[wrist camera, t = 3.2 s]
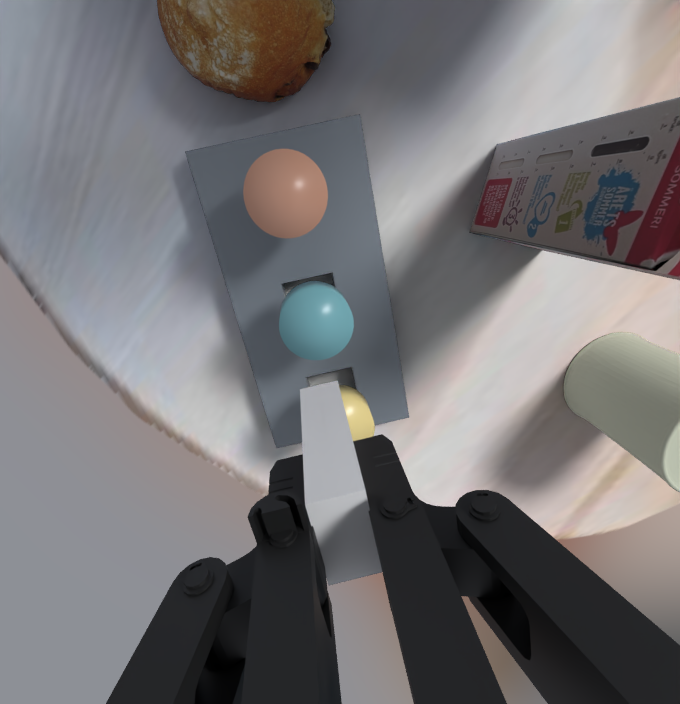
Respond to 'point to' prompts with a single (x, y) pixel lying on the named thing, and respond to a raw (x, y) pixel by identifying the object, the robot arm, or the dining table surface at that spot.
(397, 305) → the dining table surface
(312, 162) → the terracotta button
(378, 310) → the button board
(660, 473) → the can
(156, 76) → the dining table surface
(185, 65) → the bread roll
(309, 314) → the teal button
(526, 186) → the juice carton
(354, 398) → the mustard button
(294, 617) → the robot arm
